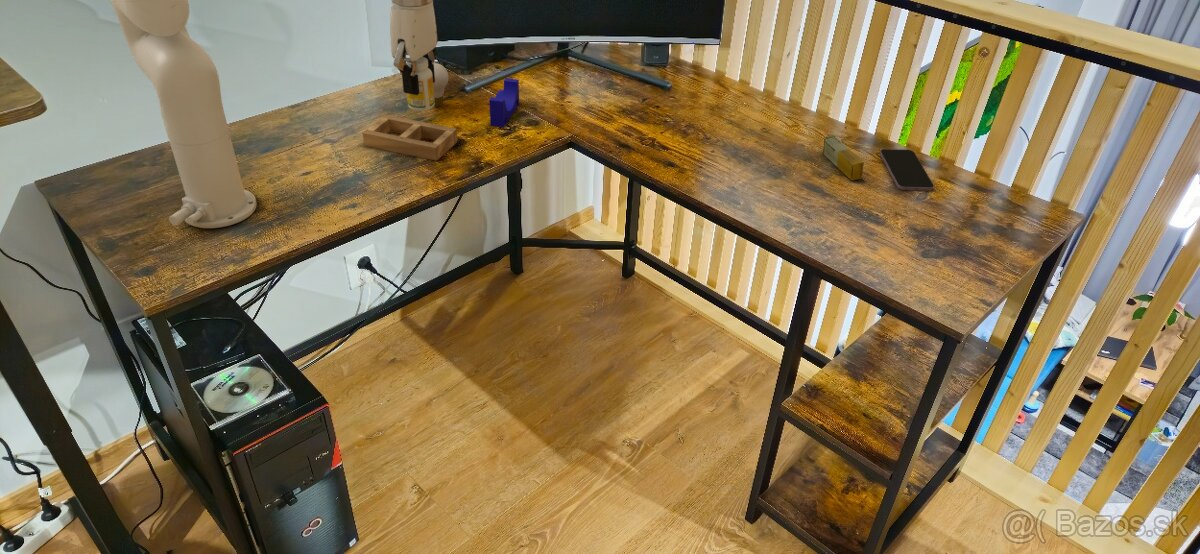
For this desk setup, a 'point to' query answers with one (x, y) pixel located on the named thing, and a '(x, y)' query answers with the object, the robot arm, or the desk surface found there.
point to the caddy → (410, 137)
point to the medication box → (843, 158)
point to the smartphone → (906, 170)
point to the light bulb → (439, 83)
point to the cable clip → (504, 103)
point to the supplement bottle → (422, 87)
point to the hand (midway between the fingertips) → (419, 86)
